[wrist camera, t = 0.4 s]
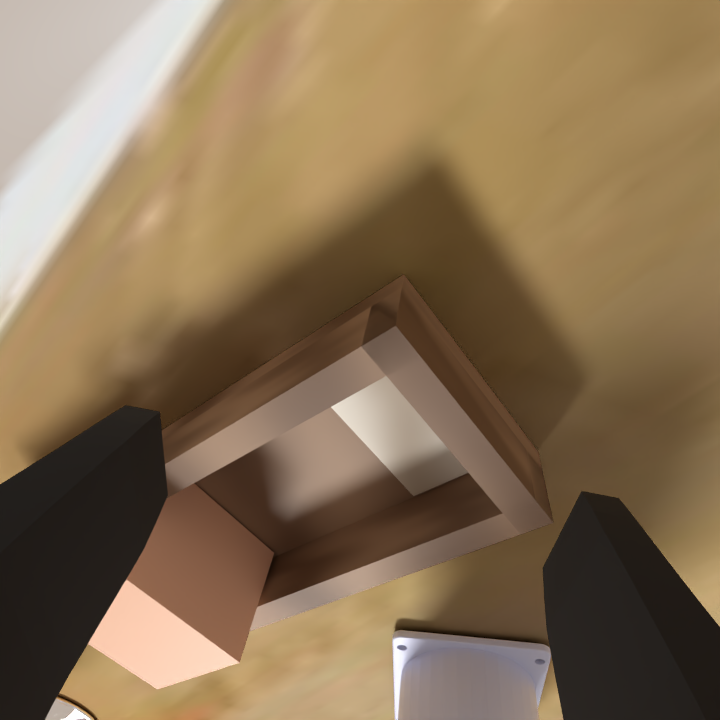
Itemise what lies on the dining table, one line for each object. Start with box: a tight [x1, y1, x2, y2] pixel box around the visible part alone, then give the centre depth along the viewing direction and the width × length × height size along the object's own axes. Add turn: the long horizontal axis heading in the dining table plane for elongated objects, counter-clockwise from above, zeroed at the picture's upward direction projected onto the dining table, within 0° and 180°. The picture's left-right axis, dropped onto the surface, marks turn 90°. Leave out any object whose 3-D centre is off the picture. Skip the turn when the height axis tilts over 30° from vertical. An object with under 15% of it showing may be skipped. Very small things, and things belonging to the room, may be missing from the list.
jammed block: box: [88, 483, 274, 689], centre depth 23 cm, size 5×6×5 cm
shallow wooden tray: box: [162, 274, 553, 631], centre depth 22 cm, size 22×9×4 cm, turn 128°
